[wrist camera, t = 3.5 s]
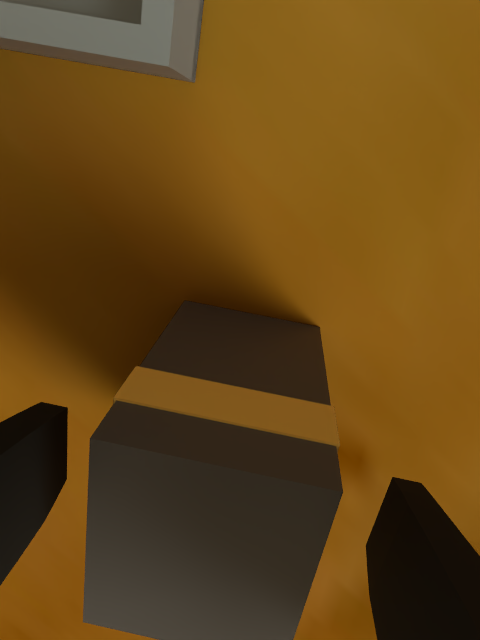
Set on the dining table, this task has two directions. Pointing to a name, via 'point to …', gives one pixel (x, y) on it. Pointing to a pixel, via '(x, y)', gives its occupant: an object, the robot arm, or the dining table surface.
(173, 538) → the block
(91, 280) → the dining table surface
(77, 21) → the tray
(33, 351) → the dining table surface
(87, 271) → the dining table surface
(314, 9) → the dining table surface
